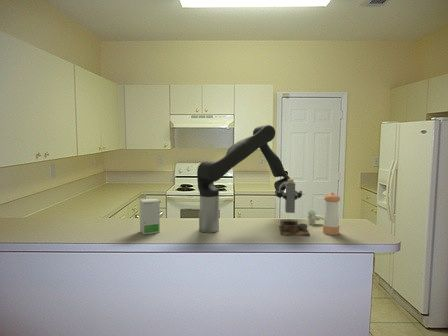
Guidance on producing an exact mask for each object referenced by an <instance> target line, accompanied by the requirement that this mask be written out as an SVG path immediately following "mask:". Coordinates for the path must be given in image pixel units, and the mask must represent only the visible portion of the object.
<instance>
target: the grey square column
mask: <svg viewBox="0 0 448 336" xmlns="http://www.w3.org/2000/svg"><path fill="white" fill-rule="evenodd" d="M295 191H296V182H294V179H293V178H290V179H288V182H286V192H285V194H286V195H287V200H285V199H284V200H285V205H284V207H285V208H284V210H285V214H287V213H288V214H295V212H296V211H295V209H296V208H295V207H296V200H295Z"/></svg>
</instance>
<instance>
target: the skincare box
mask: <svg viewBox="0 0 448 336" xmlns="http://www.w3.org/2000/svg"><path fill="white" fill-rule="evenodd" d="M160 212H161V211H160V200H159V199H158V198H145V199H144V198H143V199H139V231H140V233H142V234H143V235H144V236H145V235H151V234H159V233H160V232H161V229H160V228H161V226H160V225H161V224H160V223H161V222H160V217H161V216H160V214H161V213H160Z"/></svg>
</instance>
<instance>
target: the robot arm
mask: <svg viewBox="0 0 448 336" xmlns="http://www.w3.org/2000/svg"><path fill="white" fill-rule="evenodd" d="M275 136H276V130H275V127H274V126H272V125H271V124H265V125H260V126H257V127H255V128H254V129H253V130H252V135H251V136H248V137H246V138H243V139H240V140H238V141H237V142H236V143H234V144H233V145H231V146H229V148H228V149H227V151H226V154H225V155H224V156H223V157H222V158H221V159H219V160H216V161H213V162H211V161H202V162H200V164H199V165H198V167H197V170H196V171H197V173H196V177H197V178H196V179H197V180H196V181H197V189H198V192H199V212H198V232H202V233H215V232H218V231H220V191H219V189H218V187H217V186H216V185H215V182H218V181H219V180H221V178H223V177H224V176H225V175H226V174H227V173H228V172H229V171H230V170H231V169H233V168H235V167H236V166H237V165H238V164H241V162H243V161H244V160H245V159H247V158H248V157H249V156H250V155H252V154H253V153H255V151H257V150H260V151H261V153H262V155H263V156H264V158H265V160H266V162H267V164H268V167H269V170H270V172H271V174H272V176H273V178H281V177H282V178H281V179H277V180H276V181H274V183H273V186H274V187H273V188H274V196H275V197H277V198H278V199H281V198H282V199H284V200H287V195H286V194H285V192H286V182H288V179H291V177H290V176H289V175H288V173H287V172H286V170H285V169H284V165H283V164H282V161H281V158H280V157H279V156H278V155H277V154H276V153H275V151H273V149H271V147H270V146H269V144H268V143H269V142H271V141H273V139H275ZM302 197H303V190H299V191H297V190H295V201H297V200H298V199H301V198H302Z"/></svg>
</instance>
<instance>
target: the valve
mask: <svg viewBox="0 0 448 336" xmlns="http://www.w3.org/2000/svg"><path fill="white" fill-rule="evenodd" d="M321 220H323V221H324V215H322V216H321V215H319V214H317V211H315V210H308V213H307V224H308V223H309V225H315V223H316V221H318V222H319V221H321Z"/></svg>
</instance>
